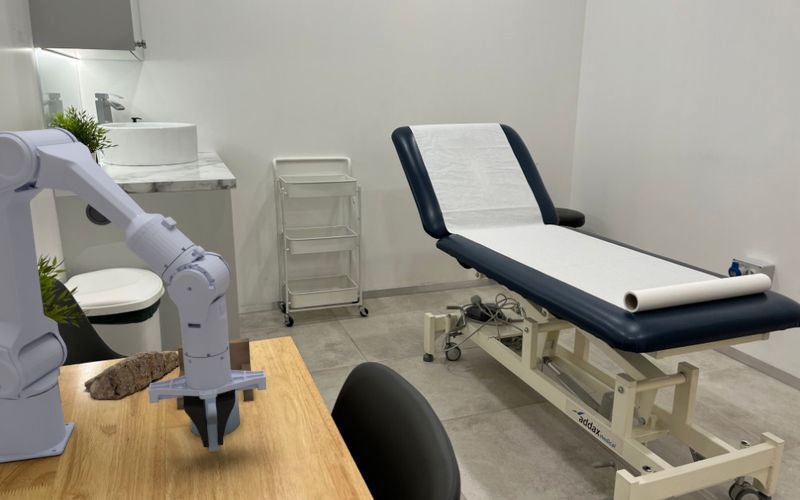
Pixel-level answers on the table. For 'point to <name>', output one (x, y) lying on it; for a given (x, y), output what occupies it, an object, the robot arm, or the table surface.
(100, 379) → the rock
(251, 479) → the table surface
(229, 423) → the finned dome knob
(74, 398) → the table surface
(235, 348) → the caddy
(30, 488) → the table surface
